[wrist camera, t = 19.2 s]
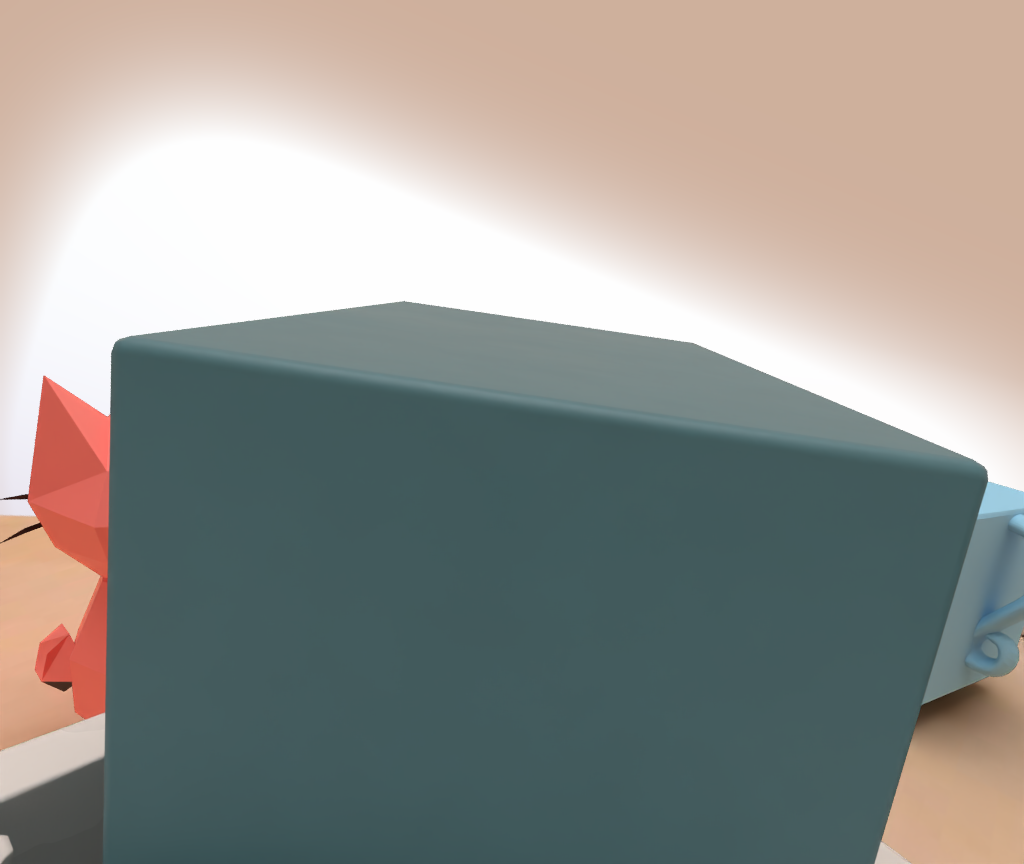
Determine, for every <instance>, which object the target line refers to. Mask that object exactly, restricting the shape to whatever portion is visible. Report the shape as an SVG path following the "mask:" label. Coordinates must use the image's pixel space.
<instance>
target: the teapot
mask: <svg viewBox="0 0 1024 864" xmlns="http://www.w3.org/2000/svg"><path fill="white" fill-rule="evenodd" d="M1023 627H1024V492H1022V491H1019V490H1015V489H1012V488H1009V487H1005V486H1002V485H998V484H995V483H991V482H988V483H987V486H986V490H985V493H984V497H983V500H982V503H981V507H980V510H979V513H978V517H977V520H976V524H975V527H974V530H973V534H972V537H971V540H970V544H969V547H968V550H967V554H966V557H965V561H964V564H963V567H962V571H961V574H960V577H959V581H958V584H957V587H956V591H955V594H954V598H953V601H952V604H951V608H950V611H949V614H948V618H947V621H946V624H945V628H944V631H943V635H942V638H941V641H940V645H939V648H938V651H937V655H936V658H935V661H934V665H933V668H932V672H931V675H930V678H929V682H928V685H927V688H926V692H925V695H924V698H923V702H922V705H923V704H925V703H928V702H930V701H932V700H935V699H937V698H939V697H942V696H944V695H946V694H949V693H951V692H954V691H956V690H958V689H961V688H963V687H966V686H968V685H970V684H973V683H975V682H977V681H980V680H982V679H984V678H987V677H989V676H991V677H999V676H1004V675H1006V674H1008V673H1010V672H1011V671H1012V670H1013V669H1014V668H1015V667H1016V665H1017V663H1018V661H1019V650H1018V647H1017V645H1018V642H1019V639H1020V636H1021V633H1022V630H1023Z"/></svg>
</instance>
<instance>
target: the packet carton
mask: <svg viewBox="0 0 1024 864" xmlns="http://www.w3.org/2000/svg"><path fill="white" fill-rule="evenodd" d="M110 413H111V414H110V465H109V523H108V580H107V638H106V695H105V752H104V810H103V864H874V863H875V860H876V857H877V853H878V850H879V846H880V843H881V840H882V836H883V833H884V830H885V826H886V823H887V820H888V816H889V813H890V809H891V806H892V803H893V799H894V796H895V793H896V789H897V786H898V783H899V779H900V776H901V772H902V769H903V766H904V762H905V759H906V756H907V752H908V749H909V746H910V742H911V739H912V735H913V732H914V729H915V725H916V722H917V719H918V715H919V712H920V709H921V705H922V702H923V698H924V695H925V692H926V688H927V685H928V682H929V678H930V675H931V672H932V668H933V665H934V661H935V658H936V655H937V651H938V648H939V645H940V641H941V638H942V635H943V631H944V628H945V624H946V621H947V618H948V614H949V611H950V608H951V604H952V601H953V598H954V594H955V591H956V587H957V584H958V581H959V577H960V574H961V571H962V567H963V564H964V561H965V557H966V554H967V550H968V547H969V544H970V540H971V537H972V534H973V530H974V527H975V524H976V520H977V517H978V513H979V510H980V507H981V503H982V500H983V497H984V493H985V490H986V486H987V483H988V477H987V476H988V475H987V470H986V469H985V467H984V466H982V465H981V464H979V463H977V462H976V461H974V460H972V459H970V458H967V457H965V456H963V455H960V454H958V453H955V452H953V451H951V450H948V449H946V448H943V447H941V446H939V445H936V444H934V443H931V442H929V441H926V440H924V439H922V438H919V437H917V436H914V435H912V434H910V433H907V432H905V431H903V430H900V429H898V428H895V427H893V426H891V425H888V424H886V423H883V422H881V421H879V420H876V419H874V418H871V417H869V416H867V415H864V414H862V413H859V412H857V411H855V410H852V409H850V408H847V407H845V406H843V405H840V404H838V403H835V402H833V401H831V400H828V399H826V398H823V397H821V396H819V395H816V394H814V393H811V392H809V391H807V390H804V389H802V388H799V387H797V386H794V385H792V384H790V383H787V382H785V381H782V380H780V379H778V378H775V377H773V376H771V375H768V374H766V373H763V372H761V371H759V370H756V369H754V368H751V367H749V366H747V365H744V364H742V363H739V362H737V361H735V360H732V359H730V358H727V357H725V356H723V355H720V354H718V353H715V352H713V351H710V350H708V349H706V348H703V347H701V346H699V345H696V344H694V343H688V342H681V341H674V340H668V339H661V338H653V337H647V336H640V335H633V334H626V333H619V332H612V331H605V330H598V329H591V328H584V327H578V326H571V325H564V324H557V323H550V322H543V321H536V320H529V319H522V318H515V317H508V316H501V315H495V314H487V313H481V312H474V311H467V310H460V309H453V308H446V307H439V306H432V305H425V304H419V303H412V302H405V301H404V302H395V303H387V304H380V305H372V306H364V307H356V308H348V309H341V310H333V311H325V312H317V313H309V314H301V315H293V316H287V317H286V316H285V317H278V318H270V319H262V320H254V321H246V322H238V323H230V324H223V325H216V326H207V327H199V328H191V329H183V330H175V331H168V332H160V333H152V334H144V335H136V336H130V337H126V338H122V339H119V340H118V341H117V342H115V344H114V347H113V350H112V353H111V408H110Z"/></svg>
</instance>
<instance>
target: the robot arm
mask: <svg viewBox="0 0 1024 864" xmlns="http://www.w3.org/2000/svg"><path fill="white" fill-rule="evenodd" d="M104 752H105V713H102V714H99V715H97V716H94V717H91V718H88V719H86V720H83V721H80V722H77V723H75V724H72V725H69V726H67V727H64V728H61V729H58V730H56V731H53V732H50V733H47V734H45V735H42V736H39V737H36V738H34V739H31V740H28V741H26V742H23V743H20V744H17V745H15V746H12V747H9V748H6V749H4V750H1V751H0V864H103V810H104ZM874 864H912V863H910V862H909V861H908V860H906V859H905V858H904V857H902V856H901V855H900V854H898V853H897V852H896V851H894V850H893V849H892V848H890V847H889V846H888V845H886V844H885V843H884V842H882V841H881V843H880V846H879V850H878V853H877V857H876V860H875V863H874Z"/></svg>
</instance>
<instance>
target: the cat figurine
mask: <svg viewBox="0 0 1024 864" xmlns="http://www.w3.org/2000/svg"><path fill="white" fill-rule="evenodd" d="M109 465H110V415H109V416H108V417H107V416H105V415H104V414H102V413H101V412H99V411H97V410H96V409H95V408H93V407H91V406H90V405H89V404H87V403H85V402H84V401H82V400H81V399H79V398H78V397H76V396H75V395H73V394H72V393H70V392H69V391H67V390H66V389H64V388H62V387H61V386H60V385H58V384H56V383H55V382H53V381H52V380H50V379H49V378H47V377H46V376H43V384H42V393H41V400H40V408H39V416H38V424H37V432H36V439H35V448H34V456H33V464H32V471H31V479H30V486H29V494H25V495H20V496H15V497H9V498H4V500H8V499H28V503H29V505H30V506H31V508H32V510H33V511H34V513H35V515H36V516H37V518H38V520H39V521H40V523H38V524H35V525H33V526H30V527H27V528H25V529H23V530H21V531H20V532H18V533H16V534H14V535H13V536H11V537H9V538H8V539H6V540H4V541H3V542H5V541H7V540H10V539H12V538H14V537H17V536H19V535H22V534H24V533H27V532H29V531H32V530H35V529H37V528H40V527H43V528H44V530H45V531H46V533H47V534H48V536H49V538H50V539H51V541H52V543H53V544H54V546H55V547H56V548H58V549H59V550H61V551H63V552H64V553H66V554H67V555H69V556H71V557H72V558H74V559H75V560H77V561H78V562H80V563H82V564H83V565H85V566H86V567H88V568H89V569H91V570H93V571H94V572H96V573H97V574H99V575H101V576H100V579H99V581H98V583H97V586H96V588H95V591H94V593H93V595H92V598H91V600H90V603H89V605H88V607H87V610H86V612H85V615H84V617H83V619H82V622H81V624H80V627H79V629H78V633H77V636H76V639H75V643H74V642H73V640H72V638H71V636H70V635H69V633H68V632H67V630H66V629H65V627H64V626H63V624H61V625H60V626H58V627H57V628H56V629H55V630H54V631H53V632H52V633H51V634H49V635H48V636H47V637H46V638H45V639H44V640H43V641H42V642H40V645H39V650H38V655H37V661H36V666H35V671H36V673H37V675H38V676H39V678H40V680H41V682H44V683H46V684H48V685H50V686H53V687H55V688H57V689H59V690H62V691H66V690H67V689H69V688H70V687H71V686H72V689H73V698H74V708H75V712H76V713H77V714H78V715H80V716H81V717H83V718H84V719H88V718H91V717H94V716H97V715H99V714H102V713H105V695H106V638H107V580H108V523H109ZM1 543H2V542H1Z"/></svg>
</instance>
